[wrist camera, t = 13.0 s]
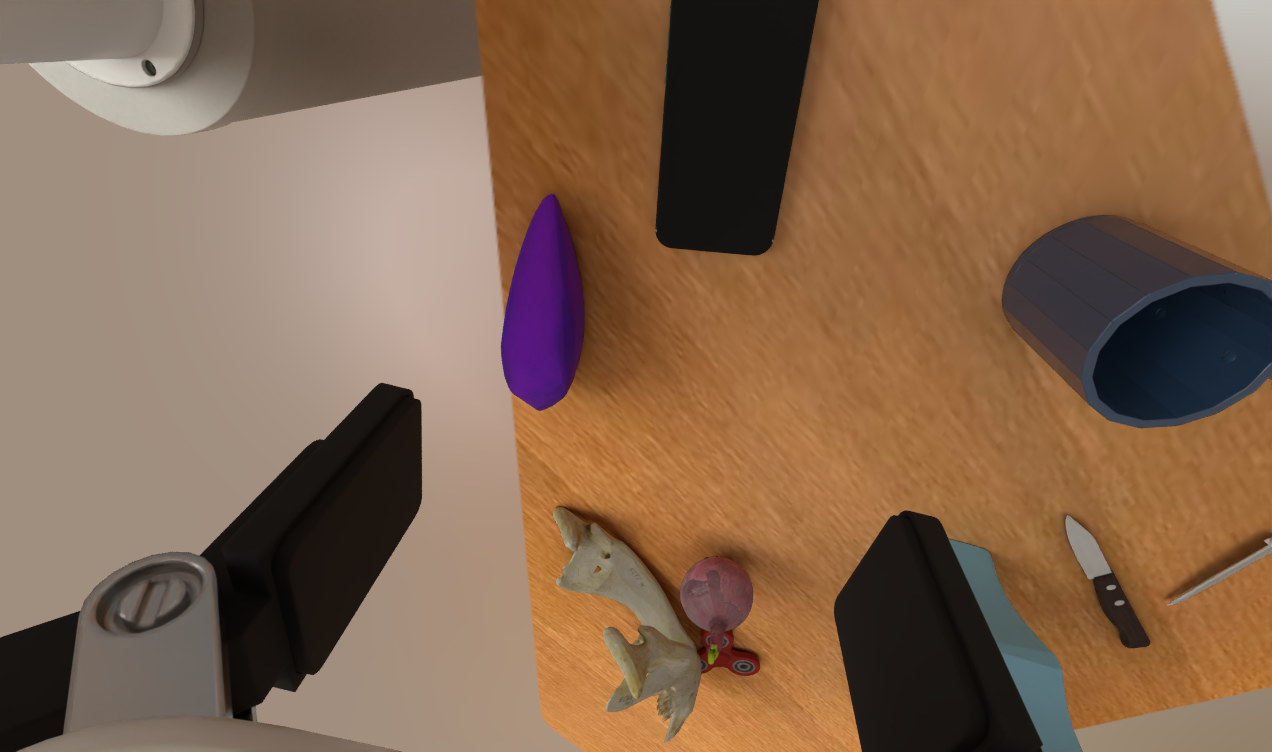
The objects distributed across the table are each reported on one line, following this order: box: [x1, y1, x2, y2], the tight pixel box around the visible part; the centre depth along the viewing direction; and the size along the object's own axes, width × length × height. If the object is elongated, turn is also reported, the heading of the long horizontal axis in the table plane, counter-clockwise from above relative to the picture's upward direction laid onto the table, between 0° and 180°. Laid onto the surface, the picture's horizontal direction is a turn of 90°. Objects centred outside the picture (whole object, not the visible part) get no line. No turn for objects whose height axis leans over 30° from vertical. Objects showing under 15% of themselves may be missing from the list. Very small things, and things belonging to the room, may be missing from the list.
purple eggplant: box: [501, 194, 584, 411], centre depth 36 cm, size 5×5×15 cm
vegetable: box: [680, 554, 753, 664], centre depth 45 cm, size 6×6×10 cm
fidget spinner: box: [697, 630, 760, 676], centre depth 56 cm, size 8×7×1 cm
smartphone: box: [656, 0, 819, 255], centre depth 30 cm, size 7×1×15 cm
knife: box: [1169, 538, 1272, 605], centre depth 41 cm, size 15×1×2 cm
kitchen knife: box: [1065, 515, 1150, 648], centre depth 45 cm, size 18×1×2 cm
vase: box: [949, 539, 1083, 752], centre depth 39 cm, size 8×8×20 cm
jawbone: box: [553, 507, 701, 743], centre depth 49 cm, size 25×18×10 cm
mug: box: [1002, 215, 1272, 428], centre depth 30 cm, size 11×8×9 cm
